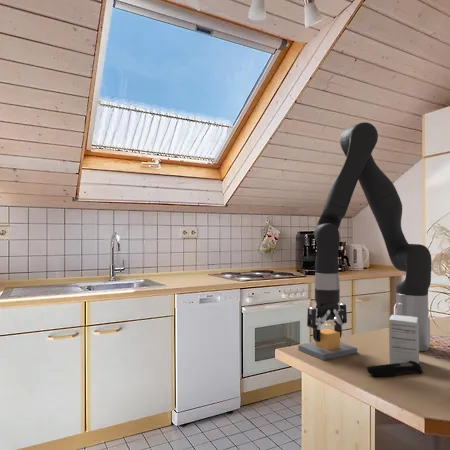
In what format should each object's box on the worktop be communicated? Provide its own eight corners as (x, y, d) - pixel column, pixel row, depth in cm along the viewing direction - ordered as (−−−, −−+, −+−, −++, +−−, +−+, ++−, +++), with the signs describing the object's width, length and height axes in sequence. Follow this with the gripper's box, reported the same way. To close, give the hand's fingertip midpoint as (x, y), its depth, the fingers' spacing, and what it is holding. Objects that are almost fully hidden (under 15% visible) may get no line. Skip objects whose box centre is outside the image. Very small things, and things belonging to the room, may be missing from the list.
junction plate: (331, 343, 126) (331, 330, 126) (357, 352, 116) (357, 338, 116) (298, 349, 119) (298, 335, 119) (322, 360, 110) (322, 344, 110)
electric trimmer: (363, 375, 99) (363, 363, 99) (413, 369, 103) (413, 358, 103) (372, 381, 95) (372, 368, 95) (424, 374, 99) (424, 362, 99)
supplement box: (391, 356, 113) (391, 314, 113) (419, 360, 109) (419, 316, 109) (388, 364, 106) (388, 319, 107) (418, 368, 103) (417, 322, 103)
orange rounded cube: (327, 343, 121) (327, 328, 121) (340, 347, 117) (339, 332, 117) (315, 345, 119) (315, 330, 119) (327, 350, 114) (327, 334, 114)
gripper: (335, 284, 125) (335, 333, 125) (301, 287, 118) (301, 339, 118) (352, 287, 118) (353, 339, 118) (317, 290, 112) (318, 345, 111)
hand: (327, 339), depth 118 cm, fingers open, 8 cm apart
